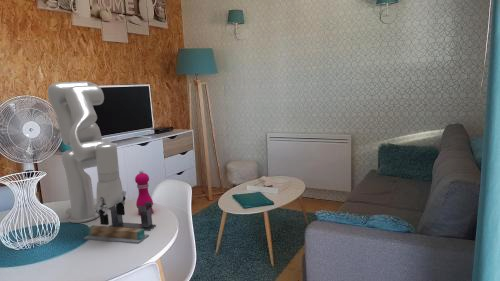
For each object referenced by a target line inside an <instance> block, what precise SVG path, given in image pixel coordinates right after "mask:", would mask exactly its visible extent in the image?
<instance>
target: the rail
mask: <svg viewBox="0 0 500 281" xmlns="http://www.w3.org/2000/svg"><path fill="white" fill-rule="evenodd" d="M109 226H110V225H97V224H96V225H93V224H92V225H91V226H89V227H87V234H88V235H89V236H100V237H112V238H124V239H136V240H141V239H142V238H144V237H145V234H146V233H145V230H144V229H137V228H123V227H109ZM88 235H87V236H88Z"/></svg>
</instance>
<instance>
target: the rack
mask: <svg viewBox="0 0 500 281" xmlns="http://www.w3.org/2000/svg"><path fill="white" fill-rule="evenodd" d="M116 205H118V204H116ZM116 205H114V206H112V207H111V208H108V211H110V216H111V224H110V225H108V226H109V227H123V228H137V229H144V231H146V230H147V231H148V232H149V231H152V230H153V229H155V228H156V225H157V224H153V219H152V218H153V216H152V214H151V208H152V209H153V205H152V202H145V206H138V208H137V211H140V214H141V215H140V221H141V223H136V222H124V218H123V215H118V214H117V209H116ZM146 207H147V208H146ZM154 227H155V228H154ZM151 229H152V230H151Z"/></svg>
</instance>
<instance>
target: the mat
mask: <svg viewBox="0 0 500 281" xmlns="http://www.w3.org/2000/svg"><path fill="white" fill-rule="evenodd" d="M144 234H145V237H144V238H142V239H141V240H136V239H124V238H112V237H100V236H89V235H86V236H84V237H83V240H87V241H88V240H89V241H90V240H91V241H103V242H113V243H114V242H115V243H124V244H137V245H138V244H140V243H141V242H143V241H144V240H145V239H147V238H148V237H149V236H150V235H149V234H146V233H144Z"/></svg>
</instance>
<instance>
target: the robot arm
mask: <svg viewBox="0 0 500 281" xmlns="http://www.w3.org/2000/svg"><path fill="white" fill-rule="evenodd" d="M47 99H48V101H49V104H50V105H51V107H52V109H53V111H54V113H55V115H56V119H57V124H58V128H59V134H60V138H61V141H62V143H63V144H64V145H65V146H70V148H69V149H67V150H65V151H64V152H63V153H62V155H61V162H62V166H63V169H64V172H65V176H66V181H67V187H68V188H67V189H68V195H69V202H70V207H68V208H67V210H66V211H65V214H69V217H68V222H70V223H74V224H79V223H80V224H81V223H87V222H90V221H94V220H96V219H98V218H99V220H100V221H99V222H100V225H101V226H109V224H110V223H109V222H110V221H109V214H107V213H108V211H109V209H108V208H111V207H112V206H114V205H115V206H116V209H117V214H118V215H122V216H125V204H126V202H125V201H126V195H127V191H125V190H123V185H122V180H121V177H120V168H119V166H120V165H119V158H118V156H119V155H118V147H117V144H116V143H113V142H112V141H110V140H109V139H103V138H102V133H101V130H100V127H99V126H98V123H96V122H97V120H98V115H97V113H96V111H95V109H94V106H100V105H102V104H103V103H104V100H105V95H104V92H103V89H102V87H100V86H99V85H98V84H96V83H94V82H91V81H85V80H81V81H61V82H55V83H51V84H50V85H49V86H48V88H47ZM94 167H95V168H96V171H97V180H98V181H97V182H96V183H97V184H96V203H95V198H94V192H93V184H92V178H91V176H90V174H88V173H87V172H86V171H85V170H86V169H89V168H94ZM116 204H118V205H116Z"/></svg>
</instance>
